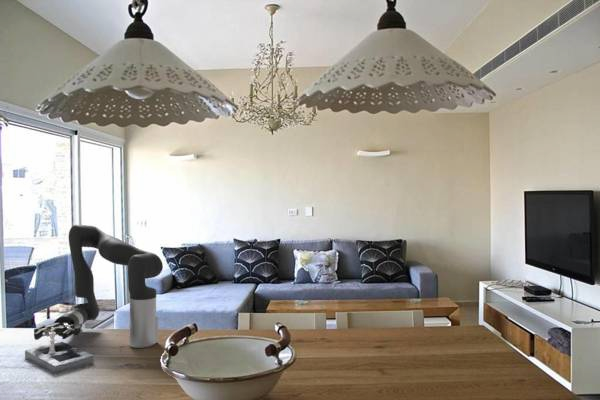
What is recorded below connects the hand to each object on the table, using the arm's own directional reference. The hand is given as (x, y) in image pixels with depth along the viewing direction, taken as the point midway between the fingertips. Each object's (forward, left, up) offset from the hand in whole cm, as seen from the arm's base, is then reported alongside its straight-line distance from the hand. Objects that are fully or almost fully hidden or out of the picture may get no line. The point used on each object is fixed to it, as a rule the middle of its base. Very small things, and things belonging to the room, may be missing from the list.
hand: (49, 336), depth 146 cm
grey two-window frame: (-1, +4, -8) cm, 8 cm away
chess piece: (-1, -2, -8) cm, 8 cm away
